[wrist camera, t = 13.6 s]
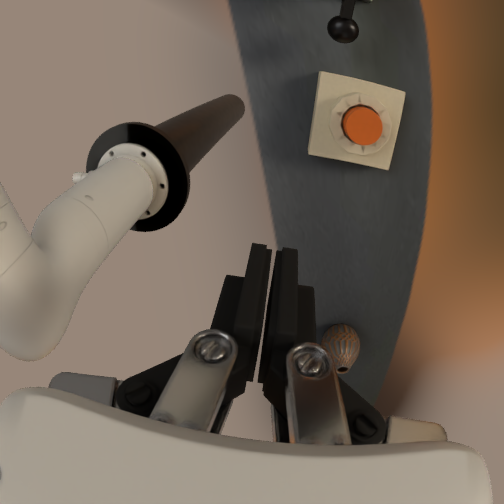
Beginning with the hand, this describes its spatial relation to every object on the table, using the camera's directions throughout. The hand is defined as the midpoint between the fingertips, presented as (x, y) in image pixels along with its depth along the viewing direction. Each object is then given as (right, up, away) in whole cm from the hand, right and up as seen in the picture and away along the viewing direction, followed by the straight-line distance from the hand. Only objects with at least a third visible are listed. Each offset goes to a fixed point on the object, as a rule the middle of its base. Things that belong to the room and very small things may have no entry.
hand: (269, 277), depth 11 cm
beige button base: (+11, +17, +20) cm, 28 cm away
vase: (+15, -13, +41) cm, 45 cm away
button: (+11, +15, +17) cm, 25 cm away
